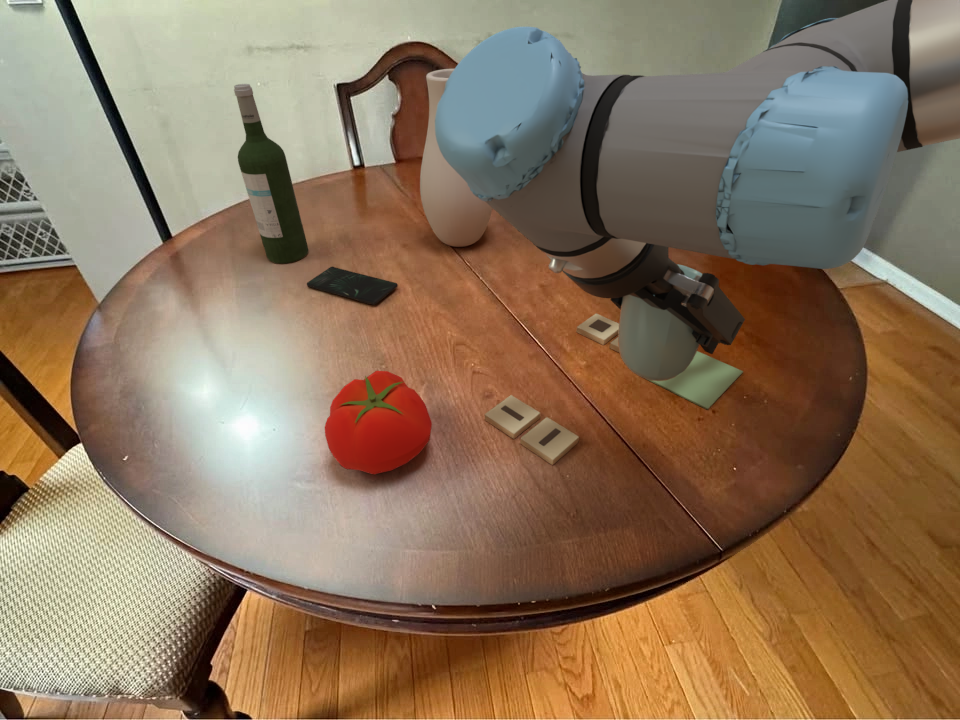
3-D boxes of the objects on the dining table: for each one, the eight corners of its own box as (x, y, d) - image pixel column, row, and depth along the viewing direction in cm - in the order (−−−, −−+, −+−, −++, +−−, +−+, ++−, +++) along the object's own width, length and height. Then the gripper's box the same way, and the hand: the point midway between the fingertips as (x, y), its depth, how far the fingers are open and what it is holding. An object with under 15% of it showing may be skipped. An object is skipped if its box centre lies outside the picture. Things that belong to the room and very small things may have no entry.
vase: (418, 255, 105) (398, 82, 87) (434, 224, 116) (420, 64, 97) (489, 259, 103) (485, 83, 85) (499, 227, 114) (497, 64, 95)
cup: (708, 371, 56) (732, 286, 50) (655, 402, 53) (675, 315, 47) (649, 336, 61) (665, 254, 55) (598, 362, 58) (608, 278, 52)
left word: (578, 442, 67) (579, 435, 66) (552, 465, 64) (553, 459, 63) (511, 400, 73) (511, 393, 72) (484, 419, 70) (484, 413, 69)
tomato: (414, 499, 61) (405, 445, 56) (313, 477, 64) (295, 424, 58) (450, 419, 70) (445, 367, 65) (361, 403, 73) (349, 352, 68)
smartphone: (331, 265, 101) (398, 282, 95) (332, 270, 102) (399, 287, 96) (305, 283, 97) (373, 302, 91) (306, 288, 97) (374, 307, 91)
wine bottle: (314, 245, 110) (275, 79, 91) (300, 264, 104) (255, 91, 85) (276, 244, 111) (229, 80, 92) (260, 264, 105) (206, 91, 86)
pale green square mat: (742, 372, 76) (745, 366, 75) (707, 410, 70) (709, 403, 70) (604, 311, 88) (605, 305, 88) (565, 339, 83) (566, 333, 82)
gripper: (468, 235, 44) (575, 319, 63) (718, 337, 32) (758, 402, 51) (513, 150, 44) (607, 260, 62) (782, 223, 32) (798, 330, 51)
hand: (675, 324), depth 57 cm, fingers closed on cup, 8 cm apart
